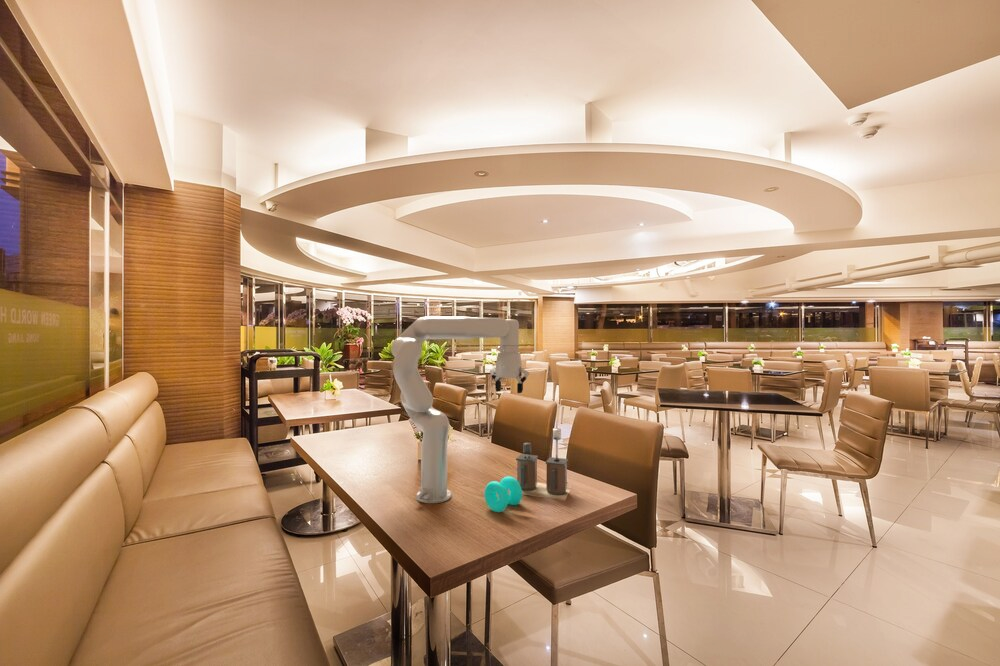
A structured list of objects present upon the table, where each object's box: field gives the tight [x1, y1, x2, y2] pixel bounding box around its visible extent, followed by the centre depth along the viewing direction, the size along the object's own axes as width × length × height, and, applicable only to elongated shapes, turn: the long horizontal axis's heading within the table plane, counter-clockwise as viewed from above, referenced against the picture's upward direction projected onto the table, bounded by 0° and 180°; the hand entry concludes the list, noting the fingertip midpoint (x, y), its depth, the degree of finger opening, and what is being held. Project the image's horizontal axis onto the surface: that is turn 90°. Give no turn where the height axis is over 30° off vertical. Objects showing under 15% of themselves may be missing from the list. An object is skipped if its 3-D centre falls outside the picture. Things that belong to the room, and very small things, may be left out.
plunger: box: [552, 427, 562, 462], centre depth 155 cm, size 5×5×16 cm
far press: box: [515, 442, 539, 491], centre depth 157 cm, size 9×7×17 cm
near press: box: [545, 456, 568, 495], centre depth 153 cm, size 9×7×12 cm
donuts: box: [484, 476, 523, 513], centre depth 142 cm, size 10×10×10 cm
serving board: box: [522, 481, 572, 501], centre depth 156 cm, size 14×20×1 cm
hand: (508, 392), depth 168 cm, fingers open, 9 cm apart
